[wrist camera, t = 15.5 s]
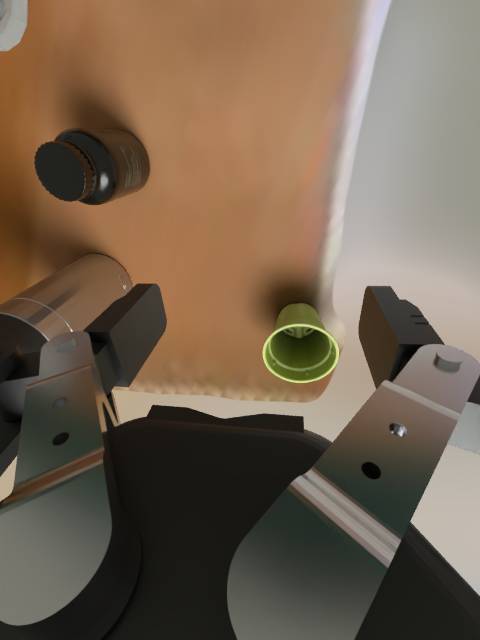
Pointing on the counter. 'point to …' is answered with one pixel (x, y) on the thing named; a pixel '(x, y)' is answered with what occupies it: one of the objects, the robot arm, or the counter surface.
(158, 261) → the counter surface
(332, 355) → the plant pot
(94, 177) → the supplement bottle
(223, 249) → the counter surface
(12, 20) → the french press
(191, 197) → the counter surface
